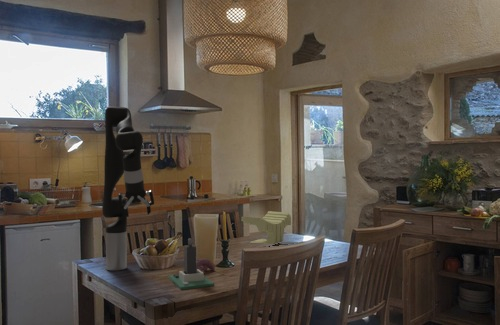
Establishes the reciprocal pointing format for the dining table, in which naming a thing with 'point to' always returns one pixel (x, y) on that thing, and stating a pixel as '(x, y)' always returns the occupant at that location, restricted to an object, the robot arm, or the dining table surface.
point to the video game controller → (204, 265)
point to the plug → (190, 258)
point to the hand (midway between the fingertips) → (138, 215)
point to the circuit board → (190, 280)
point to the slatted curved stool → (270, 226)
